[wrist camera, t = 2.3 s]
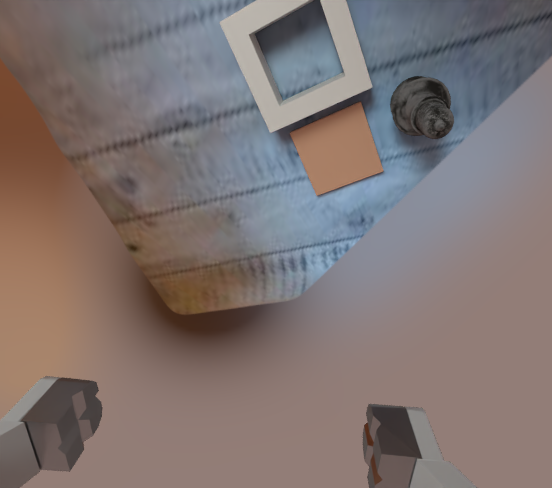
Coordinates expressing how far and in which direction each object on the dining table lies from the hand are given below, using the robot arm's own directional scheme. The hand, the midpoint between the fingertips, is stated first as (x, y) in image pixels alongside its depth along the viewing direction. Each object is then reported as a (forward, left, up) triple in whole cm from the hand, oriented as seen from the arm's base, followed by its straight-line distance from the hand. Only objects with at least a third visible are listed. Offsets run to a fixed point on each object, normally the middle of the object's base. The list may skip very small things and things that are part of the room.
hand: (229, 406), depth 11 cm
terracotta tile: (-2, +6, -38) cm, 39 cm away
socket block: (-2, -6, -38) cm, 39 cm away
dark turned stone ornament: (-12, +4, -39) cm, 41 cm away
